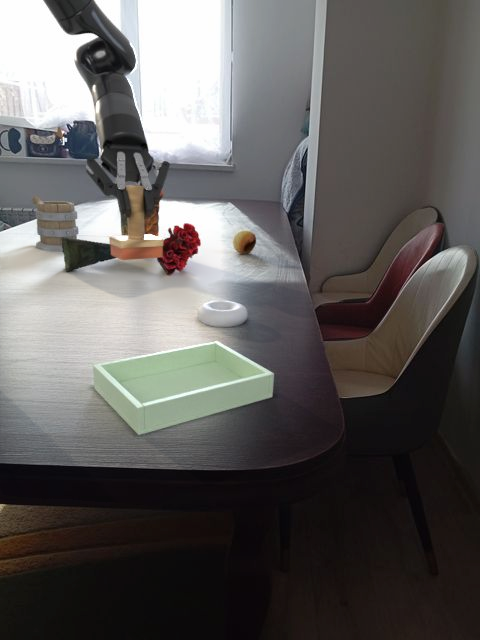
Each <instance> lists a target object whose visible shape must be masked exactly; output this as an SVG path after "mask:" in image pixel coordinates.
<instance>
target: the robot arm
mask: <svg viewBox="0 0 480 640" xmlns="http://www.w3.org/2000/svg"><path fill="white" fill-rule="evenodd" d="M42 1H43V2H44V5H46V8H47V9H48V10H49V11H50V13H51V14H52V16H53V18H54V19H55V20H56V22H57V24H58V25H59V27H60V28H61V29H62V31H63V32H64V33H65V34H67V35H69V36H79V35H84V34H92V35H95V36H96V38H93V39H92V40H91V39H90V41H87V42H85V43H83V44H82V45H80V46H79V47H78V48H77V49H76V51H75V54H74V60H73V61H74V65H75V68H76V70H77V72H78V74H79V76H81V78H82V80H83V81H84V83H85V84H86V86H87V88H88V90H89V92H90V94H91V99H92V103H93V107H94V119H95V120H94V121H95V130H96V133H97V137H98V142H99V147H100V152H101V153H100V156H99V157H98V158H94V157H92V156H88V157H86V164H85V172H86V174H87V175H88V176H89V177H90V178H91V180H92V181H93V182H94V184H96V186H97V187H98V189H99V190H100V192H102V193H103V195H104V196H106V197H110V196H113V197H115V198H116V202H117V205H118V210H119V213H121V214H124V216H125V217H130V213H131V206H130V201H129V197H128V192H127V190H125V186H126V183H127V182H133V183H135V185H141V186H143V191H144V213H145V217H146V218H150V217H151V214H153V212H154V208H155V204H154V200H153V196H154V197H159V196H160V193H161V191H162V190H163V188H164V185H165V182H166V179H167V177H168V173H169V169H170V166H171V164H170V162H168V161H167V160H163V161H162V162H159V161H157V160H155V159H154V157H153V155H152V154H151V153H150V151H149V150H150V149H149V146H148V141H147V136H146V133H145V128H144V124H143V121H142V120H143V119H142V116H141V114H140V113H141V112H140V110H139V107H138V106H137V101H136V98H135V93H134V89H133V85H132V84H131V83H132V82H131V81H130V79H129V78H127V76H128V75H130V74H132V73H133V72H135V70H136V69H137V64H138V61H137V53H136V51H135V48H134V46H133V45H132V43H131V41H130V40H129V39H128V37H126V35H125V34H124V33H123V32H122V31H121V30H120V29H119V28H118V26H116V25H115V24H114V23H113V22H112V21H111V20H110V19H109V17H108V16H107V15H106V14H105V13H104V11H102V9H101V7H99V5H98V4H97V2H96V1H95V0H42ZM103 168H104V169H105V170H106V171H107V172H108V173H109V174H110V175H111V176H112V177H113V178H114V182H113V180H112V179H111V178H110V177H109V175H108V174H107V173H106V171H105V170H104V169H103ZM152 169H153V171H154V175H155V177H156V179H155V181H154V183H152V184H151V182H150V179H149V173H150V172H151V170H152Z"/></svg>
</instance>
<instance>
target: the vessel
mask: <svg viewBox="0 0 480 640" xmlns="http://www.w3.org/2000/svg"><path fill="white" fill-rule="evenodd" d="M125 190H126V185H125ZM163 197H164V191H163V189H162V191H161V193H160V196H159V197H154V196H153V200H154V204H155V208H154V212H153V214H151V217H150V218H146V217H145V213H144V231H145V235H153V236H156V237H159V232H160V231H159V230H160V226H159V223H160V222H159V220H160V215H159V212H160V202H161V200H162V198H163ZM119 213H120V212H119ZM120 232H121V236H128V222H127V217H125V216H124V214H121V213H120Z"/></svg>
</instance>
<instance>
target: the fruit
mask: <svg viewBox="0 0 480 640" xmlns="http://www.w3.org/2000/svg"><path fill="white" fill-rule="evenodd" d="M256 244H257V236H256V235H255V233H254V232H252V231H250V230H248V229H241V230H238V231H237V232H236V233H235V234H234V236H233V237H232V245H233V248H234V250H235V251H236V253H238V254H241V255H243V256H244V255H246V254H247V255H250V253H251V252H252V251H253V250H254V248H255V246H256Z"/></svg>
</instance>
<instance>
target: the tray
mask: <svg viewBox="0 0 480 640" xmlns="http://www.w3.org/2000/svg"><path fill="white" fill-rule="evenodd" d="M92 368H93V369H92V370H93V372H92V373H93V384H94V390H95V391H96V392H97V393H98V394H99V395H100V396H101V397H102V398H103V399H104V400H105V401H106V402H107V404H109V406H110V407H111V408H112V409H113V410H114V411H115V412H116V413H117V414H118V416H120V418H122V419H123V420H124V421H125V422H126V423H127V425H128V426H129V427H130V428H131V429H132V430H133V431H134V432H135V433H136V434H137V435H138V436H140V435H144V434H147V433H150V432H151V433H152V432H154V431H158V430H161V429H164V428H168V427H171V426H175V425H179V424H182V423H186V422H189V421H193V420H198V419H200V418H205V417H208V416H210V415H214V414H217V413H218V414H219V413H222V412H226V411H228V410H232V409H236V408H239V407H243V406H246V405H249V404H253V403H256V402H260V401H264V400H267V399H270V398H273V395H274V381H275V373H274V372H272V371H270V370H269V369H267V368H265V367H263V366H262V365H261V364H259V363H256V362H255V361H253V360H251V359H249V358H248V357H246V356H244V355H242V354H241V353H239V352H237V351H236V350H234V349H232V348H230V347H229V346H227V345H226V344H223V343H222V342H220V341H218V340H216V341H211V342H206V343H205V342H204V343H201V344H195V345H189V346H183V347H179V348H174V349H168V350H164V351H157V352H154V353H153V352H152V353H147V354H143V355H136V356H132V357H126V358H122V359H116V360H111V361H106V362H101V363H95V364H92Z"/></svg>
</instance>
